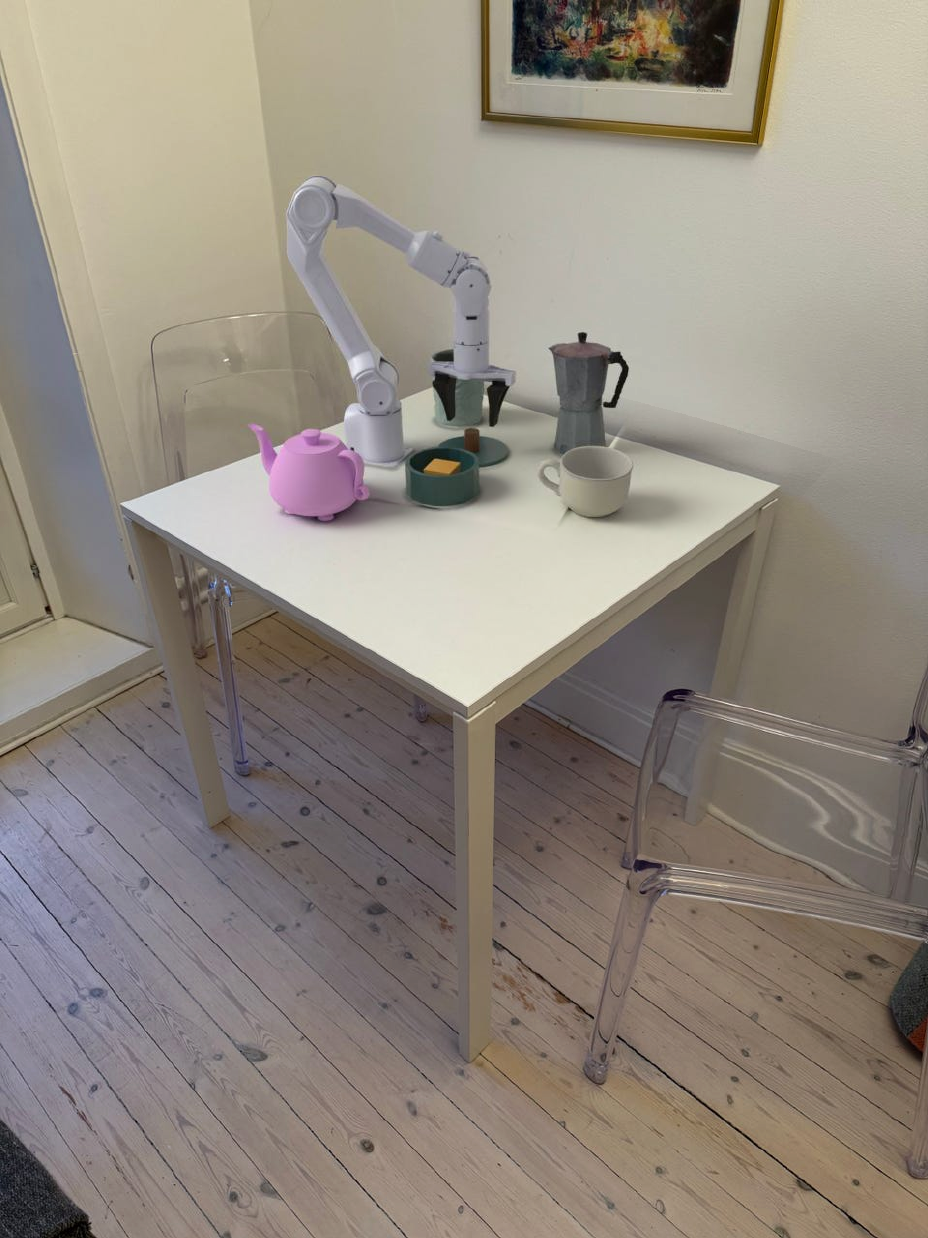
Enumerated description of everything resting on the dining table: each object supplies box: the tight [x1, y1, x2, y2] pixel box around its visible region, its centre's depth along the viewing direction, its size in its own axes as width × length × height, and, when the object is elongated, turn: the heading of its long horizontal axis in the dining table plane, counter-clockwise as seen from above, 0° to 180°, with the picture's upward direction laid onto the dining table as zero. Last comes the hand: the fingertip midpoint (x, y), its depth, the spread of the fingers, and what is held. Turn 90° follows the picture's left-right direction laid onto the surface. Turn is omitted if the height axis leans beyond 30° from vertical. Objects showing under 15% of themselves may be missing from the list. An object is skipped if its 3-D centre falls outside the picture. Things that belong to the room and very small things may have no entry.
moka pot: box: [548, 331, 630, 455], centre depth 148 cm, size 10×15×20 cm, turn 54°
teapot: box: [247, 422, 371, 522], centre depth 134 cm, size 20×14×12 cm
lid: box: [436, 427, 509, 468], centre depth 151 cm, size 12×12×4 cm
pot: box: [404, 446, 480, 510], centre depth 139 cm, size 11×11×5 cm
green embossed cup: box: [430, 348, 485, 428], centre depth 162 cm, size 10×10×12 cm
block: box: [424, 459, 461, 475], centre depth 139 cm, size 4×4×4 cm
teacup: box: [537, 446, 634, 518], centre depth 133 cm, size 14×11×8 cm
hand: (472, 421), depth 148 cm, fingers open, 7 cm apart
